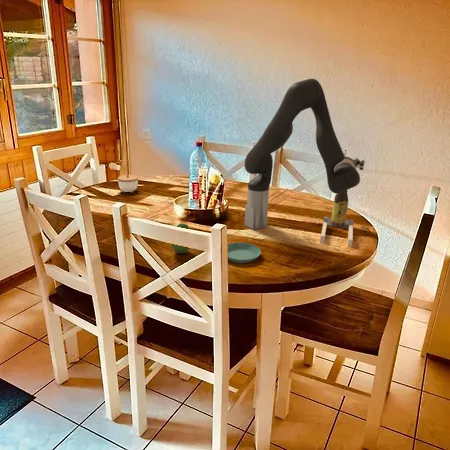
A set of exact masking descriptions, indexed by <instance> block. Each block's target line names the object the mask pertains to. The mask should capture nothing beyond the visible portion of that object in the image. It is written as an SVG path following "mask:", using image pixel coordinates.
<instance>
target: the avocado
mask: <svg viewBox="0 0 450 450" xmlns="http://www.w3.org/2000/svg"><path fill="white" fill-rule="evenodd" d="M176 227H181V228H186V229H190V227H189V225H188V224H186V223H183V222H182V223H178V224H177V225H176ZM171 248H172V250H173V251H174V252H175V253H178V254H179V255H181V254H182V255H183V254H186V253H188V252H189V251H190V249H191V248H188V247H183V246H178V245H174V244H171Z"/></svg>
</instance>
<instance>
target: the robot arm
mask: <svg viewBox="0 0 450 450" xmlns="http://www.w3.org/2000/svg"><path fill="white" fill-rule="evenodd" d="M307 109H311V111H312V112H313V114H314V118H315V128H316V130H315V141H316V142H315V143H316V147H317V150H318V152H319V154H320V157H321V159H322V161H323V164H324V167H325V171H326V179H327V186H328V188H329V190H330V191H331V192H332V194H333V193H334V194H335V195H336V194H338V193H341V192H343V191H345V190H347V191H348V190H350V189H352V188H353V189H354V188H355V187H356V186H358V185H359V184H360V181H361V177H360V173H359V171H358V170H357V168H358V169H359V170H360V171H363V170H364V167H365V160H363V159H362V160H360V159H358V157H356V158H355V159H353V158H351V157H349V156H345V154H344V150H343V148H342V147H341V144H340V142H339V140H338V137H337V135H336V132H335V130H334V129H335V128H334V126H333V123H332V119H331V115H330V110H329V107H328V104H327V98H326V96H325V92H324V89H323V87H322V85H321V83H320V82H319V81H318V80H317V79H315V78H308V79H304V80H301V81H298V82H295V83H292V84H291V85H290V86H289V87H288V89H287V90H286V93H285V95H284V97H283V98H282V101H281V103H280V106H279V107H278V109H277V111H276V112H275V114H274V116H273V117H272V119H271V120H270V122H269V123H268V125H267V126H266V128H265V129H264V132H263V133H262V135H261V136H260V138H259V139H258V141H257V142H256V144H255V145H254V146H253V147H252V148H250V150H249V152H248V153H247V155H246V157H245V159H244V168H245V171H246V172H247V173H248V174H251V175H256V177H254V178H253V179H250V180H249V181H248V182H247V199H246V200H247V202H246V203H247V204H246V205H244V223H243V224H244V226H245V227H248V228H249V229H251V230H262V229H266V228H267V226H268V214H269V199H270V198H269V196H270V185H271V184H272V183H271V182H272V175H273V174H272V173H273V162H274V161H273V155H272V154H273V153H274V152H276V151H278V150H280V149H281V148H282V147H283V146H284V145H285V144H286V143H287V142H288V140H289V139H290V137H291V135H292V134H293V129H294V125H293V122H294V120H295V119H296V118H297V116H298V115H299V114H300V113H301V112H303V111H305V110H307Z"/></svg>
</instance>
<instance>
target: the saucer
mask: <svg viewBox="0 0 450 450" xmlns="http://www.w3.org/2000/svg"><path fill="white" fill-rule="evenodd" d="M227 245H228V259H227V260H229V261H231V262H233V263H237V264H246V263H252V262H253V261H255V260H256V259H258V258H259V256H261V253H262V251H261V249H260V248H259V247H258V246H256V245H255V244H252V243H247V242H232V243H228V244H227Z"/></svg>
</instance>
